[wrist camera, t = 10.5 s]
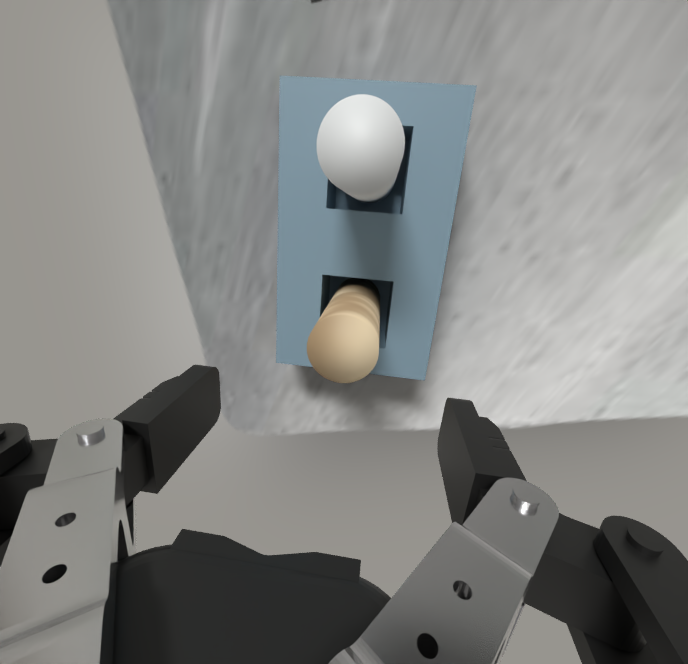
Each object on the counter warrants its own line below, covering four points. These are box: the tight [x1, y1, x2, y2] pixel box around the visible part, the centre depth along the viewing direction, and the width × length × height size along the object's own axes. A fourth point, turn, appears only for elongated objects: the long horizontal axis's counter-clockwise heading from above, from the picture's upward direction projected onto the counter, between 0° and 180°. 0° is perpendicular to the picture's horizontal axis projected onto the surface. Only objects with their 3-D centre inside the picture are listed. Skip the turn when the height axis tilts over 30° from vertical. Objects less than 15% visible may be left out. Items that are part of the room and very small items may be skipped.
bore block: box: [276, 76, 476, 380], centre depth 21 cm, size 11×18×12 cm, turn 175°
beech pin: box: [307, 278, 380, 383], centre depth 22 cm, size 4×4×11 cm
